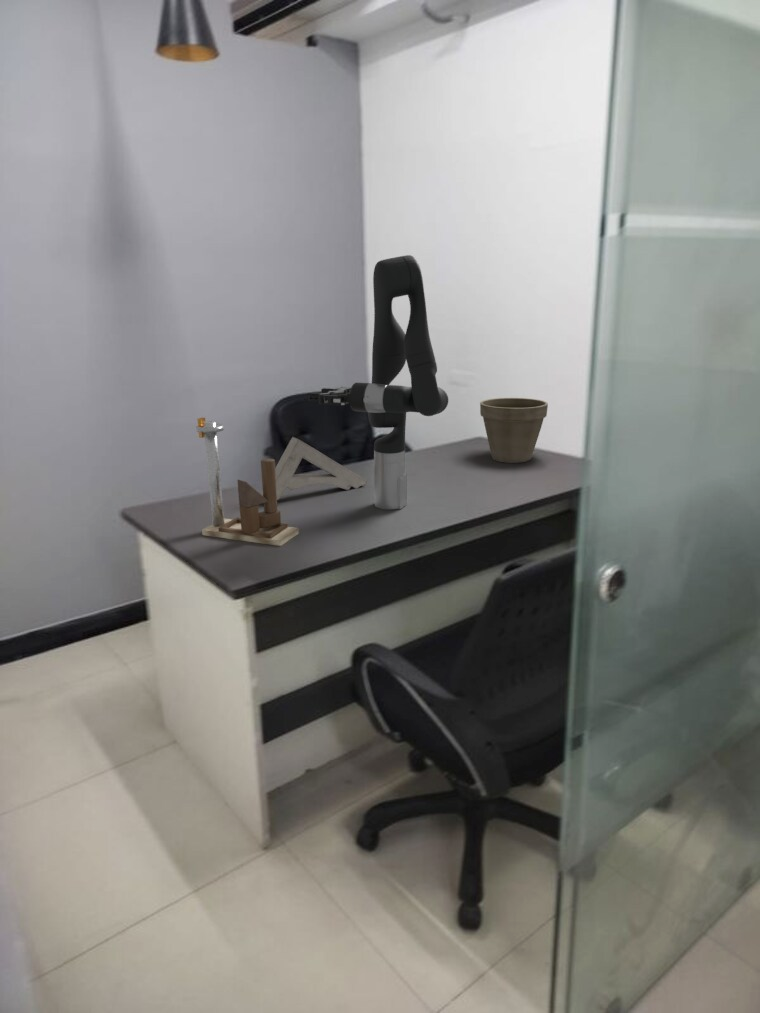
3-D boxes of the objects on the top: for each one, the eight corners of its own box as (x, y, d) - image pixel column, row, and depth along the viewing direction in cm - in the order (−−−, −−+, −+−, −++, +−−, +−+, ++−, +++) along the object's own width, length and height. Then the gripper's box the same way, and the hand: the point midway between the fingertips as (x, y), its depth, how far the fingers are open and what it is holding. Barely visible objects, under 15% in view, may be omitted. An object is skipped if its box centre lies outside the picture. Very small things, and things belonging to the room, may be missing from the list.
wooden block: (240, 531, 180) (235, 465, 174) (272, 520, 187) (268, 457, 182) (249, 534, 177) (244, 467, 172) (281, 523, 185) (277, 459, 179)
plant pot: (471, 451, 271) (473, 397, 264) (531, 449, 273) (535, 395, 267) (487, 468, 247) (490, 408, 240) (553, 465, 250) (557, 406, 243)
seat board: (298, 533, 185) (298, 524, 184) (280, 546, 176) (280, 536, 175) (223, 523, 193) (222, 514, 192) (202, 535, 184) (201, 526, 184)
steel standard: (236, 527, 190) (228, 417, 180) (222, 535, 184) (213, 422, 174) (215, 524, 192) (205, 415, 183) (200, 532, 186) (190, 420, 176)
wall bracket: (335, 539, 225) (263, 503, 207) (329, 535, 229) (258, 499, 211) (367, 481, 226) (298, 439, 208) (360, 478, 230) (292, 436, 212)
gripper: (380, 379, 183) (325, 377, 188) (360, 387, 170) (302, 384, 176) (380, 407, 185) (326, 404, 191) (360, 417, 172) (303, 413, 178)
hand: (315, 394), depth 183 cm, fingers open, 8 cm apart
